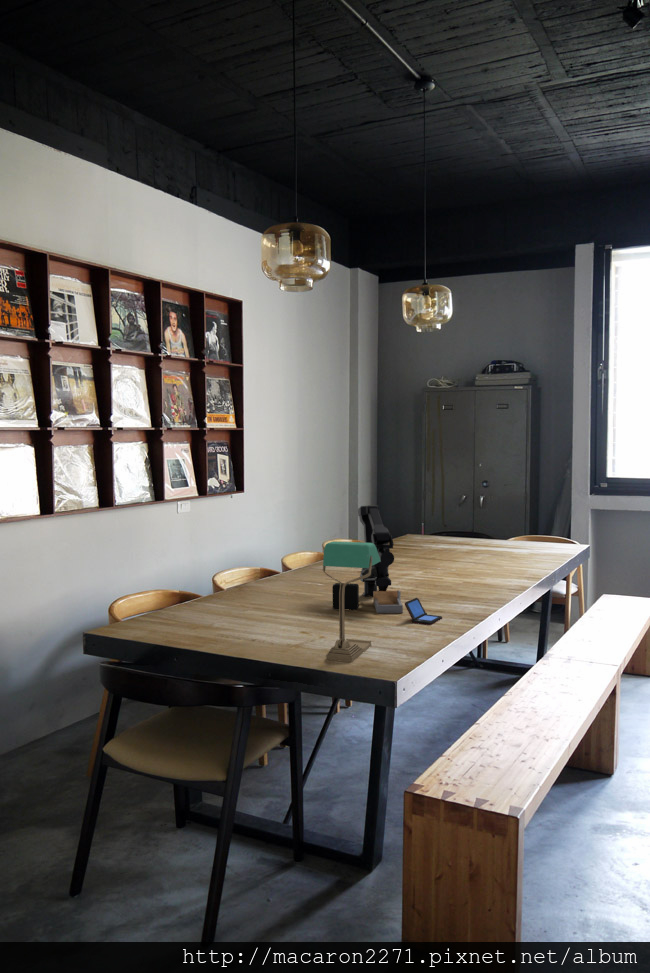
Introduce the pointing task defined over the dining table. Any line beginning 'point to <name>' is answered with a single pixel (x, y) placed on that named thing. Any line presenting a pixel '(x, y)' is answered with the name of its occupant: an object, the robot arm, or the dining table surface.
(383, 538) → the robot arm
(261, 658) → the dining table surface
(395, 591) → the rectangular wooden block
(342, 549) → the banker's lamp
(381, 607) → the grey shallow open box
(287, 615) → the dining table surface
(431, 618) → the handheld game console
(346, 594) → the electronic device
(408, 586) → the dining table surface
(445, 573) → the dining table surface
